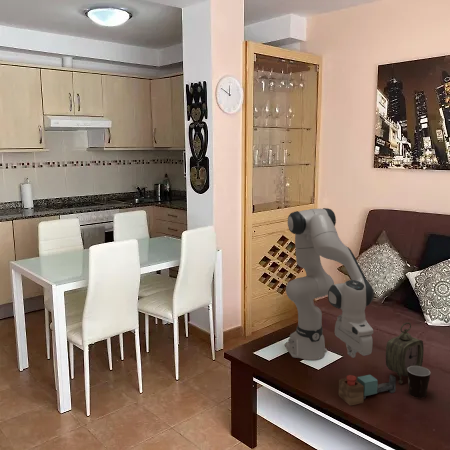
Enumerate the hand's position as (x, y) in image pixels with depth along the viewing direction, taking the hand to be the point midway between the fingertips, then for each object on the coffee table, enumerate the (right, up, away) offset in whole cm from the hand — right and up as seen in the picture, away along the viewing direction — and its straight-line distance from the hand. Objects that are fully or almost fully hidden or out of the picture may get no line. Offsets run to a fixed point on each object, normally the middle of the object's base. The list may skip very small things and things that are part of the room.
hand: (351, 355), depth 182 cm
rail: (+11, -17, +6) cm, 21 cm away
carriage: (+8, -16, +5) cm, 18 cm away
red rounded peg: (0, -15, +2) cm, 15 cm away
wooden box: (0, -18, +3) cm, 18 cm away
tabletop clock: (+27, -15, +19) cm, 37 cm away
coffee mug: (+27, -17, +4) cm, 33 cm away
